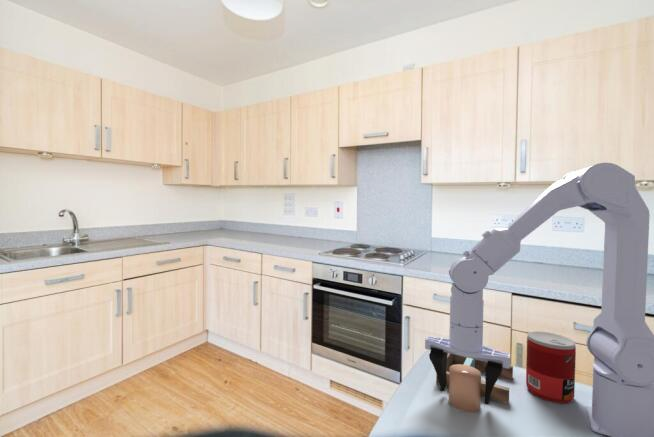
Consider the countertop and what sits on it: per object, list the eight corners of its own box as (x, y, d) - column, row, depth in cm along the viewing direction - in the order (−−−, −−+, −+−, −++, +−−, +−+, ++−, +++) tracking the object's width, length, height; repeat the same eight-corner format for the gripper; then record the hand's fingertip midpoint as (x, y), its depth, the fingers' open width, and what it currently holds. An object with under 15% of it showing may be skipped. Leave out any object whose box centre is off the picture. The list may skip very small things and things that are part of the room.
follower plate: (474, 369, 74) (475, 353, 74) (467, 387, 66) (467, 369, 66) (469, 368, 74) (469, 352, 74) (461, 385, 66) (461, 368, 66)
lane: (512, 377, 71) (513, 358, 71) (508, 404, 60) (509, 382, 60) (449, 361, 78) (450, 344, 78) (436, 383, 68) (436, 363, 68)
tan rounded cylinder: (482, 400, 61) (483, 369, 61) (478, 415, 57) (478, 381, 57) (452, 391, 64) (452, 361, 64) (445, 405, 60) (446, 372, 60)
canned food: (574, 409, 59) (576, 349, 59) (523, 394, 64) (525, 338, 64) (574, 391, 65) (575, 337, 65) (527, 379, 70) (529, 328, 70)
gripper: (512, 324, 60) (510, 397, 60) (432, 310, 68) (430, 375, 68) (509, 336, 54) (507, 417, 54) (422, 319, 62) (420, 390, 62)
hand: (464, 395), depth 61 cm, fingers open, 7 cm apart
